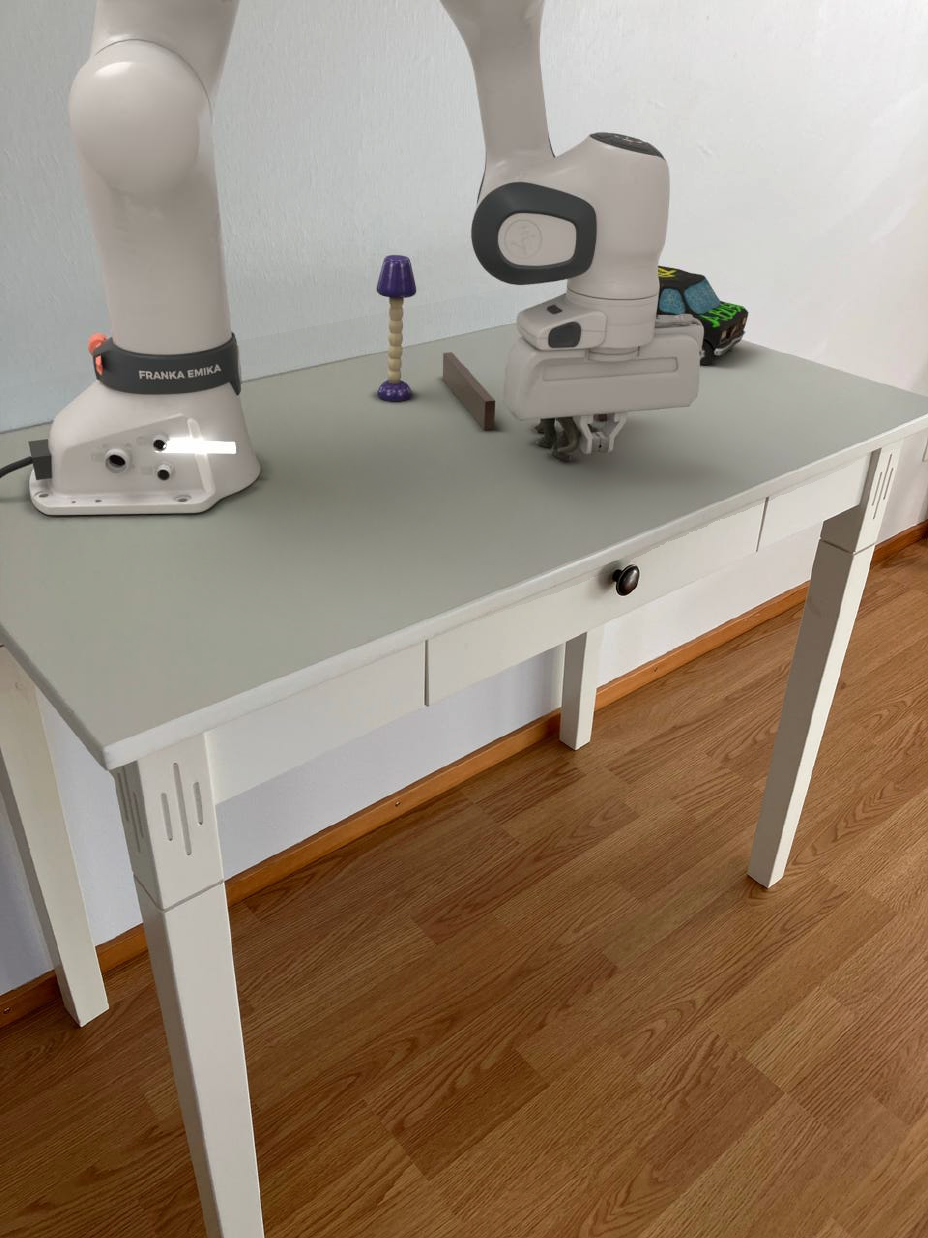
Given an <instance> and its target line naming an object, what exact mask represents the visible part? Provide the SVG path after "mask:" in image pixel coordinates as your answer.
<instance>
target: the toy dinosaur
mask: <svg viewBox="0 0 928 1238" xmlns="http://www.w3.org/2000/svg"><path fill="white" fill-rule="evenodd" d="M556 422H558V423H559V425H560V426H561V428H562V433H561V435H560V436H559V437H558V433H557V432H558V431H556V426H555V423H556ZM587 425H588V427H589V430H590V432H599V431H598V430H599V429H598V427H594V426H593V425H592V424H588V423H587ZM534 428H535V430H536V431H537V432H539V433H543V436H541V437H539V440H537V441H536V442H535V443H536V444H537V445H538V446H543V447H546V448H551V450H552V456H554V457H556V458H558V459H560V460H562V461H565V462H572V458H571V456H570V455H569V454H573V453H574V452H575V451H577V449H578V447H579V445H580V442H581V433H580V431H579V429H578V427H577V425H576V424H575V422H574V420H573V416H570V417H557V418H545V419H539V423H538V424H537V425H536V426H535V427H534Z"/></svg>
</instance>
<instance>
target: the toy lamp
mask: <svg viewBox="0 0 928 1238" xmlns="http://www.w3.org/2000/svg"><path fill="white" fill-rule="evenodd" d="M415 280H416V279H415V275H414V271H413V267H412V262H411V259H410V258H409V257H408V256H406V255H401V254H389V255H387V256H385V257H384V259H383V262H382V265H381V269H380V273H379V276H378V279H377V283H376V293H377V294H378V295H379V296H382V297H386V298H388V302H389V305H390V307H389V310H388V316H389V321H388V329H389V334H388V343H389V346H388V347H387V353H388V360H387V367H388V371H387V380H385V381H383V382H382V383H380V385H379V387H378V389H377V396H378V398H379V399H381V400H383V401H386V402H387V401H388V402H403V401H407V400H410V399H411V398H412V397H413V393H412V390H411V387H410V385H409V384H408V383H407V382H406V381H403V380H402V371H401V369H402V365H403V359H402V356H403V346H402V344H403V340H404V335H403V333H402V332H403V329H404V322H403V317H404V307H403V306H404V301H405V299H407V298H411V297H414V296H415V295H416V294H417V285H416V281H415Z"/></svg>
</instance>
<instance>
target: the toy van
mask: <svg viewBox="0 0 928 1238" xmlns="http://www.w3.org/2000/svg"><path fill="white" fill-rule="evenodd" d="M658 278H659V284H660V288H659V296H658V304H657V312H656V315H680V314H691V315H692V316H693V318H696V319H698V320H699V321H700V322H701V324H702V325H703V328H704V335H703V342H702V347H701V350H700V351H699V356H700V365H703V366H708V365H709V364H711V363H712V362H713V359H714V358H715V356H722V355H723V354H725V353H726V352H727V351H728V350H732V349H733V348H734V347H736V344H738V343H740V342H741V340H742V339H743V337H744V335H745V334H746V331H745V328H746V324H747V321H748V317H749V313H750V312H749V311H748V310H747V309H746V308H745V307H744V306H743V305H738V304H734V303H731V302H726V301H723V300H721V299H720V298H719V297H718V295H717V293H716V292H715V290H714V289H713V287H712V285H711V284H710V282H709V280H708V279H707V277H706V276H705V275H704V274H700V273H694V272H690V271H686V270H683V269H680V268H675V267H669V266H663V265H658ZM692 324H696V323H694V322H693V323H692Z"/></svg>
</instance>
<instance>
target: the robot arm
mask: <svg viewBox="0 0 928 1238" xmlns="http://www.w3.org/2000/svg"><path fill="white" fill-rule="evenodd" d="M439 2H440V5H442V7H443V9H444V10H445V12H446V13H447V15H448V17H449V18H450V19H451V21H452V22H453V24H454V26H455V27H456V29H457V31H458V32H459V34H460V37H461V38H462V41H463V42H464V45H465V47H466V50H467V53H468V55H469V59H470V62H471V66H472V70H473V75H474V80H475V85H476V94H477V101H478V107H479V113H480V114H479V115H480V119H481V121H480V122H481V126H482V127H481V128H482V134H483V140H484V147H485V165H484V171H483V174H482V178H481V182H480V185H479V189H478V192H477V199H476V207H475V209H474V213H473V218H472V222H471V229H470V238H471V244H472V249H473V252H474V254H475V257H476V259H477V260H478V262H479V264H480V265H481V267H482V268H483V269H484V270H485V271H486V272H487V273H488V275H490V276H492V277H493V278H494V279H496V280H499V281H500V282H502V283H505V284H508V285H513V286H528V285H540V284H546V283H554V282H560V281H565V280H566V289H565V290H566V291H565V292H564V293H561V294H559V295H558V296H555V297H553V298H551V299H548V300H546V301H543V302H541V303H538V304H535V305H533V306H530V307H527V308H525V309H523V310H521V311H519V313H517V315H516V322H515V323H516V324H515V326H516V329H517V331H518V333H519V335H520V337H518V338H517V339H516V340H515V341H514V342H513V344H512V345H511V347H510V349H509V351H508V355H507V361H506V365H505V372H504V378H503V389H502V402H503V405H504V407H505V408H506V409H507V411H508V412H509V413H510V414H511V415H512V417H514V418H515V419H516V420H518V421H531V420H532V421H533V420H540V419H545V418H555V419H556V418H557V417H570V416H573V420H574V422H575V424H576V425H577V427H578V429H579V431H580V433H581V434H580V433H579V434H580V444H579V445H580V451H581V452H582V453H583V454H584V455H591V454H592V455H593V454H603V453H612V452H613V450H614V442H615V438H616V437H617V436H618V434H619V433H620V431H621V430H622V428H623V427H624V426H625V424H626V423H627V420H628V413H630V412H640V411H641V412H642V411H655V410H665V409H667V410H668V409H676V408H677V409H678V408H688V407H690V406H691V405H692V404H693V403H694V402H695V401H696V399H697V398H698V396H699V388H700V374H701V370H700V369H701V368H700V367H701V364H700V356H699V351H700V350H701V347H702V342H703V335H704V328H703V325H702V324H701V322H700V321H699V320H698V319H696V318H693V316H692V315H691V314H680V315H656V312H657V304H658V296H659V288H660V284H659V278H658V266H659V262H660V259H661V256H662V253H663V250H664V248H665V245H666V240H667V232H668V231H667V230H668V223H669V214H670V213H669V212H670V197H671V196H670V193H671V177H670V169H669V164H668V162H667V160H666V158H665V157H664V155H663V154H662V152H661V151H660V150H659V149H658V148H657V147H656V146H654V145H653V144H651V143H650V142H648V141H643V140H641V139H640V138H636V137H632V136H628V135H625V134H620V133H614V132H606V131H605V132H604V131H602V132H601V131H600V132H599V131H597V132H594V133H590V134H588V135H587V136H586V137H585V139H584V140H582V141H581V142H580V143H578V144H576V145H574V146H573V147H572V148H570V149H568V150H566V151H564V152H563V153H561V154H559V155H557V156H556V155H555V153H554V151H553V147H552V143H551V139H550V135H549V128H548V126H549V125H548V119H547V111H546V102H545V101H546V100H545V93H544V92H545V91H544V85H543V84H544V83H543V75H542V65H541V30H542V22H543V15H544V9H545V5H546V0H439ZM240 4H241V0H96V3H95V11H94V12H95V13H94V20H93V27H92V34H91V42H90V48H89V54H88V59H87V61H86V62H85V63H84V64H83V66H81V68H80V70H78V72H77V74H76V76H75V78H74V80H73V82H72V85H71V88H70V91H69V96H68V105H67V111H68V112H67V115H68V121H69V127H70V132H71V137H72V142H73V147H74V148H73V149H74V152H75V157H76V163H77V168H78V171H79V178H80V182H81V186H82V190H83V195H84V199H85V203H86V207H87V212H88V216H89V220H90V224H91V228H92V231H93V236H94V239H95V243H96V247H97V253H98V256H99V257H98V258H99V262H100V269H101V275H102V280H103V287H104V294H105V300H106V306H107V307H106V308H107V313H108V319H109V325H110V331H111V337H109V338H108V337H106V335H105V334H103V333H94V334H92V335H91V336H90V338H89V339H88V346H87V347H88V353H89V354H90V355H91V357H92V363H93V370H94V375H95V378H96V379H95V380H94V381H93V382H92V383H91V384H90V385H89V386H88V387H87V388H85V389H84V390H83V391H82V392H81V393H80V394H79V395H77V396H76V397H75V398H73V400H72V401H71V402H69V403H67V405H66V406H64V407H63V408H62V409H61V410H60V411H59V412H58V413H57V415H56V416H55V418H54V420H53V421H52V424H51V427H50V429H49V434H48V438H46V439H36V440H29V441H28V448H29V452H30V455H29V456H26V457H25V458H23V459H20V460H17V461H14V462H12V463H10V464H9V463H8V464H7V465H5V466H3V467H0V479H2V478H3V477H6V475H8V474H10V473H12V472H14V471H17V470H20V469H23V468H26V467H28V466H30V465H32V467H33V468H32V470H31V472H30V475H29V479H28V480H29V481H28V489H29V496H30V498H29V499H30V500H31V503H32V504H33V507H35V508H36V509H37V511H40V512H41V513H42V514H45V515H48V516H85V515H86V516H89V515H147V514H148V515H149V514H153V515H154V514H198V513H202V512H204V511H207V510H208V509H210V508H212V507H213V506H214V505H215V504H216V503H217V502H218V501H220V500H221V499H223V498H226V497H229V496H231V495H233V494H235V493H238V492H240V491H242V490H244V489H246V488H248V487H249V486H250V485H252V484H253V483H254V482H255V481H256V480H257V479H258V477H259V475H260V473H261V464H260V462H259V460H258V457H257V456H256V452H255V450H254V447H253V444H252V440H251V438H250V434H249V431H248V427H247V424H246V420H245V415H244V411H243V406H242V401H241V395H240V393H241V391H242V384H243V381H242V380H243V379H242V378H243V377H242V366H241V355H240V348H239V347H240V346H239V344H238V340H237V337H236V334H235V332H233V331H232V325H231V324H232V323H231V312H230V303H229V292H228V291H229V289H228V280H227V267H226V258H225V249H224V240H223V232H222V222H221V213H220V203H219V202H220V201H219V192H218V182H217V172H216V163H215V162H216V161H215V152H214V151H215V150H214V141H213V140H214V139H213V129H212V127H213V126H212V123H213V118H214V112H215V108H216V104H217V99H218V95H219V92H220V86H221V82H222V78H223V73H224V70H225V65H226V61H227V56H228V54H229V53H228V52H229V48H230V44H231V39H232V36H233V33H234V28H235V24H236V19H237V15H238V11H239V8H240ZM693 322H694V323H696V324H692V323H693ZM594 414H607V415H608V419H607V420H606V421H607V422H606V423H605V425H604V427H603V428H602V430H601V431H597V432H590V430H589V427H588V425H587V423H588V424H591V425H592V424H593V423H594Z"/></svg>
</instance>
